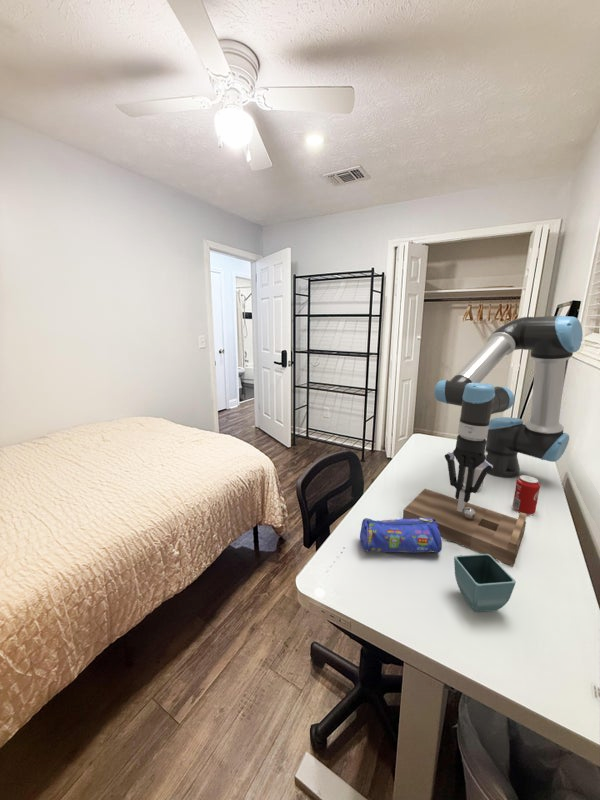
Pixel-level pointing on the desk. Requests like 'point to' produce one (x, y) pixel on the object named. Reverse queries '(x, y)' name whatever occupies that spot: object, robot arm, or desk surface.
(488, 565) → the flower pot
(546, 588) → the desk surface
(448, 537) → the board
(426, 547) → the pencil case
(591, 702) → the desk surface
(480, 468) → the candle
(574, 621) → the desk surface
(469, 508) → the ball
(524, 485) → the beverage can
